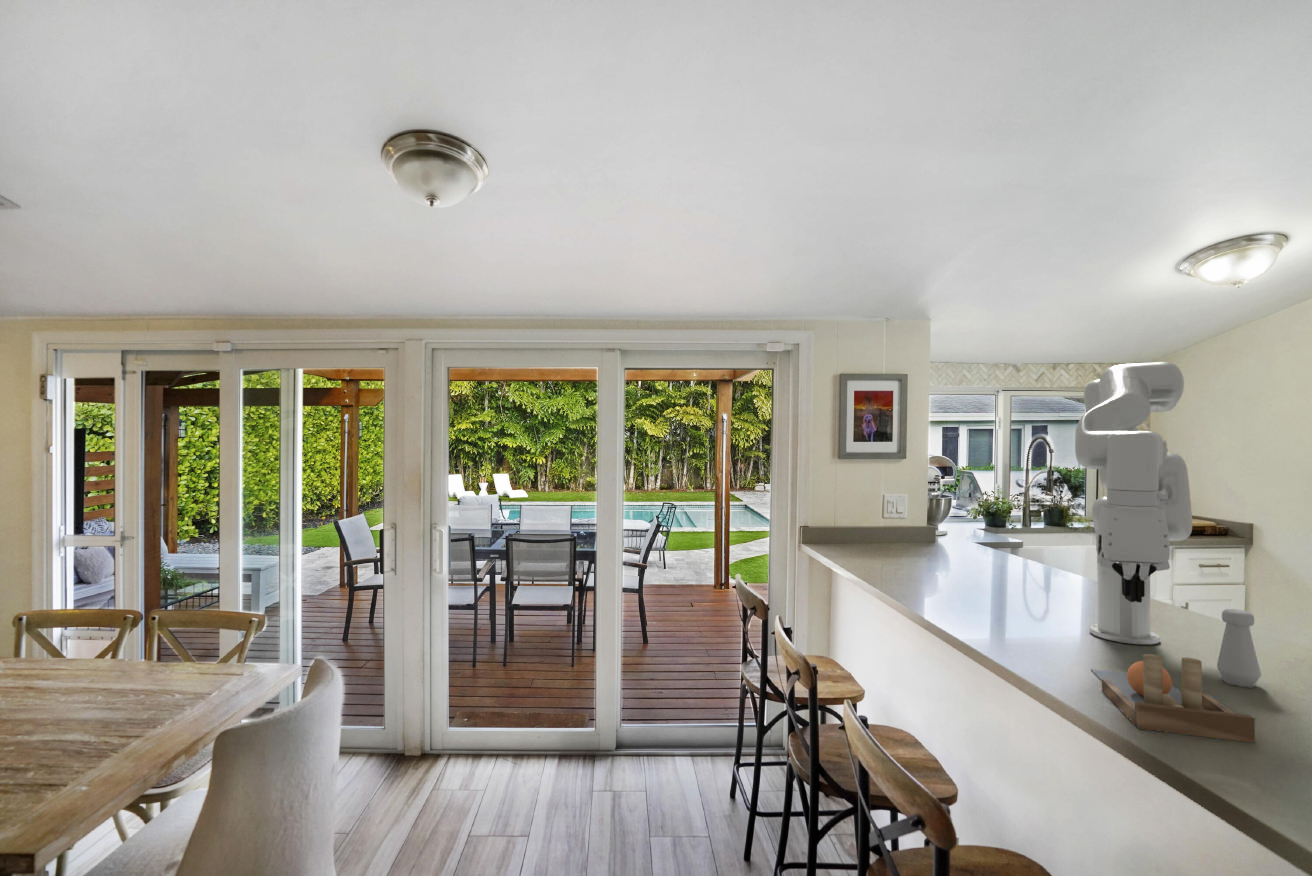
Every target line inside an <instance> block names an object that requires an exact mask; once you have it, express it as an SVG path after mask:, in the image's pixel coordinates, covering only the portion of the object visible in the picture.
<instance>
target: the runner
mask: <svg viewBox="0 0 1312 876" xmlns="http://www.w3.org/2000/svg"><path fill="white" fill-rule="evenodd" d="M1090 671H1091V672H1092V673H1093V674H1094V676H1096V677H1097V678H1098V679H1099V680H1100V681H1101V682H1102V679H1107V680H1110V681H1111V682H1112V683H1113V684H1114V685H1115V686H1116V687H1117V688H1118V689H1119V690H1120V691H1121V692H1122V693H1123V694H1124V695H1125V696H1126V697H1127V698H1128V699H1129V700H1130V701H1131V702H1132V703H1133V704H1134V705H1135V702H1138V703H1144V696H1142V695H1140V694H1138V693H1137V692H1136V691H1134V690H1133V688H1132V687H1131V686H1130V684H1129V682H1128V679H1127V672H1123V671H1112V670H1103V669H1093V668H1092V669H1091V668H1090ZM1167 695H1170V696H1171V697H1172V698H1173V699H1175V700H1176V701H1177V702H1178V703H1179V704H1180V705H1182V691H1180V690H1179V689H1178V688H1176V687H1175V686H1174V685H1173V684H1172V687H1171V690H1170V692H1169V693H1168V694H1167ZM1202 710H1204V708H1202Z"/></svg>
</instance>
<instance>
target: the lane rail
mask: <svg viewBox="0 0 1312 876" xmlns="http://www.w3.org/2000/svg"><path fill="white" fill-rule="evenodd" d="M1101 691H1102V692H1103V693H1104V694H1105V695H1106V696H1107V697H1108V698H1109V700H1111V701H1112V702H1114V703H1115V704H1116V705H1117V706H1118V707H1119V708H1120V709H1121V710H1122V711H1123V712H1124V713H1125V714H1126V715H1125V714H1124V713H1123V712H1122V711H1121V710H1120V709H1119V708H1118V707H1117V706H1116V705H1115V704H1114V703H1113V704H1114V705H1115V706H1116V707H1117V708H1118V709H1119V710H1120V711H1121V712H1122V713H1123V714H1124V715H1125V716H1126V717H1127V716H1128V717H1127V718H1128V720H1130V719H1131V720H1130V721H1131V722H1132V723H1133V725H1134V726H1135V725H1136V726H1137V727H1138V728H1139V730H1145V731H1146V730H1148V731H1154V730H1157V731H1156V732H1162V731H1167V732H1166V733H1171V732H1173V733H1172V734H1179V733H1181V735H1188V736H1189V735H1190V736H1196V737H1197V736H1198V737H1205V738H1211V739H1212V738H1213V739H1222V740H1227V741H1228V740H1229V741H1235V742H1236V741H1237V742H1246V743H1252V744H1256V736H1255V735H1256V730H1255V729H1256V726H1255V724H1256V722H1255V721H1256V718H1255V717H1254V716H1252V715H1251V714H1246V713H1244V714H1243V713H1236V712H1232V711H1231V710H1229V709H1228V708H1227V707H1225V706H1224V705H1223V704H1222V703H1220V702H1219V701H1217V699H1215V698H1214V697H1212V696H1211V695H1210V694H1209V693H1206V692H1205V691H1203V690H1202V709H1203V710H1201V709H1192V708H1183V707H1174V706H1165V705H1156V704H1147V703H1138V702H1135V705H1134V704H1133V703H1132V702H1131V701H1130V700H1129V699H1128V698H1127V697H1126V696H1125V695H1124V694H1123V693H1122V692H1121V691H1120V690H1119V689H1118V688H1117V687H1116V686H1115V685H1114V684H1113V683H1112V682H1111V681H1110V680H1107V679H1102V681H1101ZM1136 726H1135V727H1136ZM1137 727H1136V728H1137ZM1138 728H1137V729H1138ZM1158 730H1159V731H1158Z"/></svg>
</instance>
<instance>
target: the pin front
mask: <svg viewBox="0 0 1312 876" xmlns="http://www.w3.org/2000/svg"><path fill="white" fill-rule="evenodd" d="M1163 705H1165V706H1174V707H1183V706H1182V705H1180V704H1179V703H1178V702H1177V701H1176V700H1175V699H1173V698H1172V697H1171V696H1170V695H1167V694H1163ZM1183 708H1184V707H1183Z"/></svg>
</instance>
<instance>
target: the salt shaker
mask: <svg viewBox="0 0 1312 876" xmlns="http://www.w3.org/2000/svg"><path fill="white" fill-rule="evenodd" d="M1221 619H1222V621H1223V623H1225V627H1224V632H1223V636H1222V641H1221V645H1220V649H1219V655H1218V660H1217V663H1216V667H1217V671H1218V673H1219V675H1220V676H1221V678H1222V680H1223V681H1224V682H1225V683H1226V684H1229V685H1233V686H1236V685H1237V686H1236V687H1240V688H1253V687H1254V686H1255V684H1256V683H1257V682H1258V681H1259V679H1260V678H1261V677H1262V672H1261V669H1260V665H1259V662H1258V656H1257V655H1256V649H1255V645H1254V641H1253V637H1252V636H1253V635H1252V632H1251V627H1253V626H1254V625H1255V617H1254V614H1252V612H1249V611H1246V610H1242V609H1236V608H1227V609H1224V610H1222V612H1221Z"/></svg>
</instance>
